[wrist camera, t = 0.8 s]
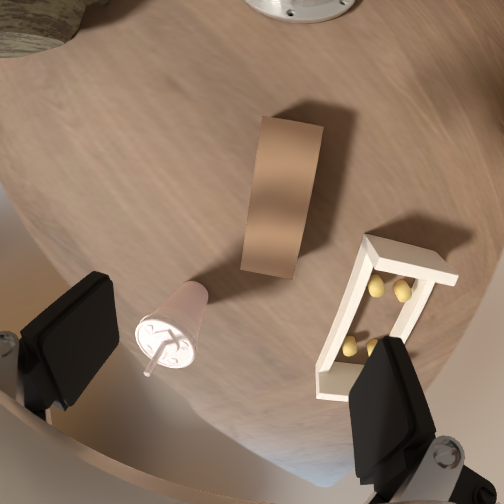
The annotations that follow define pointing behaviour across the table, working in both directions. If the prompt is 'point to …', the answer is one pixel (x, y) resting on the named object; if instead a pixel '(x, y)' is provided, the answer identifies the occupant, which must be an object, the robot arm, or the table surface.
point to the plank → (280, 195)
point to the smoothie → (174, 328)
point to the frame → (388, 260)
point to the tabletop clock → (38, 24)
